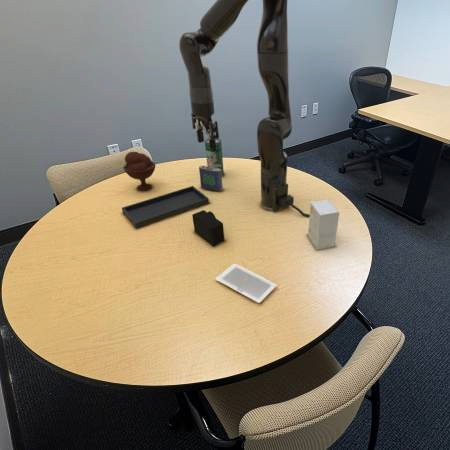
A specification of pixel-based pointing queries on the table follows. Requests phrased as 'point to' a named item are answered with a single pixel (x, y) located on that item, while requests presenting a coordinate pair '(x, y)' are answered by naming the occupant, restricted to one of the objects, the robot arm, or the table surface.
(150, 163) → the ice cream bowl
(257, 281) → the touchpad
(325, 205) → the small box
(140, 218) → the tray
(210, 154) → the can
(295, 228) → the table surface
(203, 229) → the digital camera
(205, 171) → the flask
